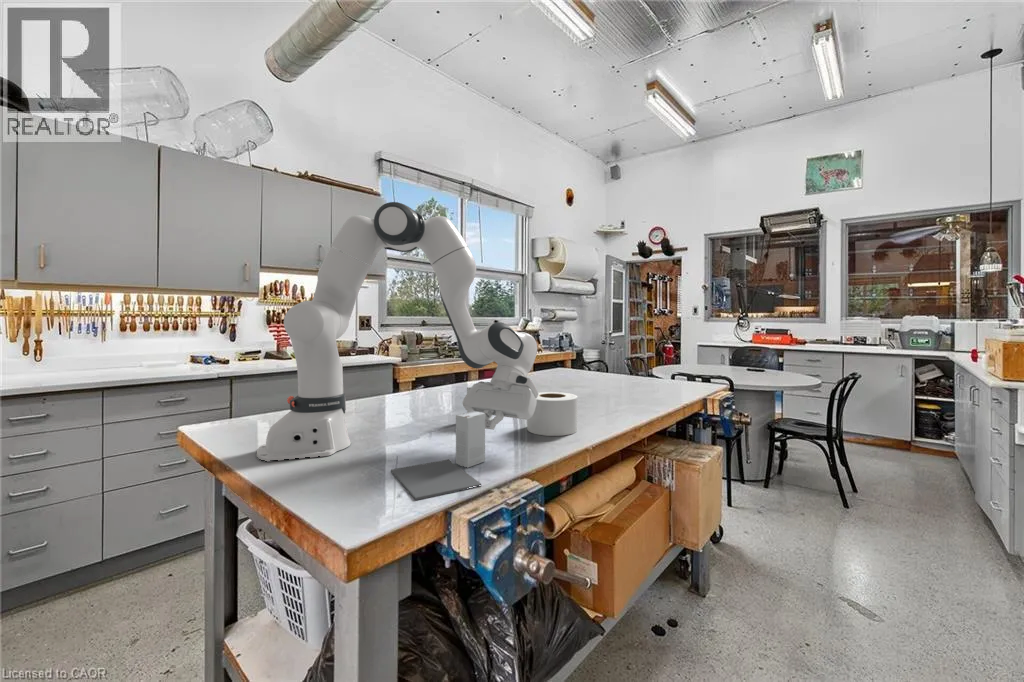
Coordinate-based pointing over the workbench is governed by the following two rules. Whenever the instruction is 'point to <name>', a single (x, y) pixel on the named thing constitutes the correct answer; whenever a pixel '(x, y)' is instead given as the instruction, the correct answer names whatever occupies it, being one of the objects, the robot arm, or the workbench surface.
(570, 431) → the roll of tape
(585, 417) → the workbench surface
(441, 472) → the rubber mat
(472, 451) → the skincare box
